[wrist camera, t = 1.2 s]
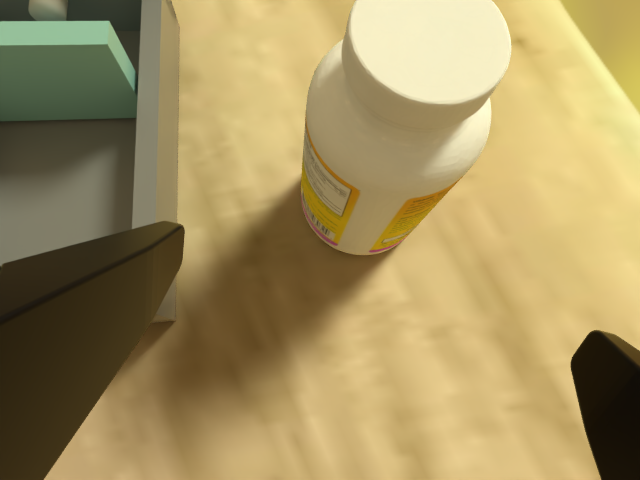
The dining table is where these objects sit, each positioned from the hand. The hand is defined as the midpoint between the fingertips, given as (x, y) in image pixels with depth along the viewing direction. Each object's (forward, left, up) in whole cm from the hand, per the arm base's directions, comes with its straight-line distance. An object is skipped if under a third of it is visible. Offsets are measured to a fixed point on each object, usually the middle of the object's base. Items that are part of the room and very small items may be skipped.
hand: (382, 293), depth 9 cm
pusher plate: (+13, +13, -12) cm, 22 cm away
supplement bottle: (+7, -2, -13) cm, 15 cm away
